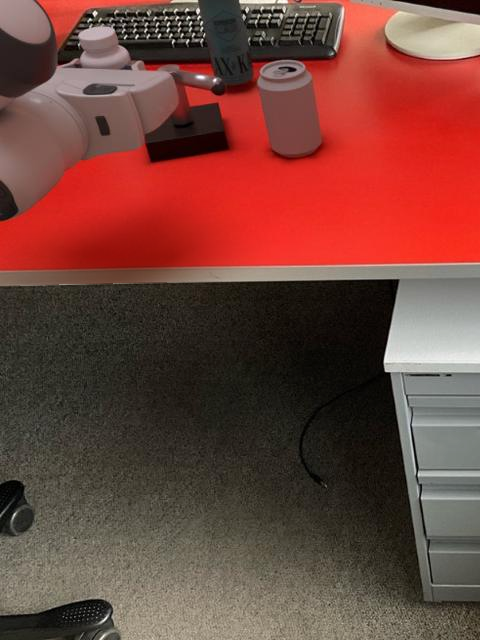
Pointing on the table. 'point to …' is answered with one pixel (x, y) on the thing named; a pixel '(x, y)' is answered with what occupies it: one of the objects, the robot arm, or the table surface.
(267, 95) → the can
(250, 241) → the table surface
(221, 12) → the beverage bottle
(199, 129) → the tap base
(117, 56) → the pill bottle
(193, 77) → the spout
